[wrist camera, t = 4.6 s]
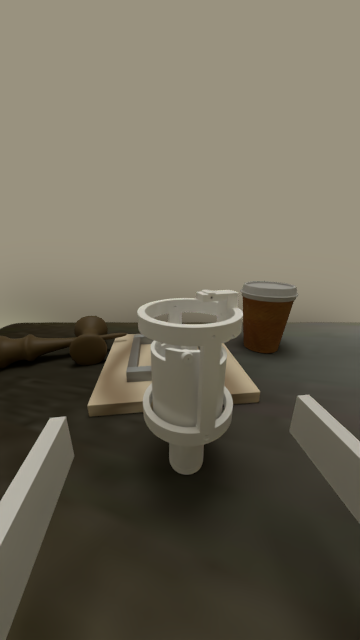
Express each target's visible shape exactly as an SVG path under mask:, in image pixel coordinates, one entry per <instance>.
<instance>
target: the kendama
mask: <svg viewBox="0 0 360 640" xmlns="http://www.w3.org/2000/svg"><path fill="white" fill-rule="evenodd" d="M107 329H108V328H107V325H106V323H105V321H104V320H103V319H102V318H99V317H97V316H86V317H83V318H81V319H80V320H78V321H77V323H76V325H75V335H76V337H77V338H37V337H35V336H34V335H27V336H26V337H24V338H20V339H9V338H7V337H4V336H0V368H6V367H7V366H9V365H10V364H11V363H13V362H16V361H20V360H28V361H34V360H35V359H36V358H37V357H39V356H41V355H43V354H46V353H49V352H53V351H56V350H60V349H63V348H67V347H70V355H71V357H72V359H73V360H74V361H75V362H76V363H77V364H79V365H83V366H86V365H93V364H98V363H99V362H101V361H102V360H104V358H105V356H106V354H107V346H106V343H105V341H104V340H108V339H113V338H119V337H123V336H126V335H127V333H115V334H107Z"/></svg>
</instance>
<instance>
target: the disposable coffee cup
mask: <svg viewBox="0 0 360 640" xmlns="http://www.w3.org/2000/svg"><path fill="white" fill-rule="evenodd" d="M241 293H242V296H243V330H244V331H243V333H244V346H245V347H246V348H248V349H250V350H252V351H255V352H260V353H273V352H276V351H277V350H278V347H279V344H280V341H281V338H282V335H283V332H284V329H285V326H286V323H287V320H288V317H289V314H290V311H291V308H292V304H293V302H294V300H295V299H296V297H297V296H298V293H297V289H296V286H294V285H291V284H286V283H279V282H265V281H264V282H263V281H257V282H256V281H253V282H246V283H244V286H243V289H241Z"/></svg>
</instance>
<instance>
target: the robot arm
mask: <svg viewBox="0 0 360 640" xmlns="http://www.w3.org/2000/svg"><path fill="white" fill-rule="evenodd" d="M289 432H290V433H291V434H292V436H293V437H294V438H295V440H296V441H297V442H298V443H299V445H300V446H301V447H302V449H303V450H304V451H305V453H306V454H307V455H308V457H309V458H310V459H311V461H312V462H313V463H314V464H315V466H316V467H317V468H318V470H319V471H320V472H321V474H322V475H323V476H324V478H325V479H326V480H327V482H328V483H329V484H330V485H331V487H332V488H333V489H334V491H335V492H336V493H337V495H338V496H339V497H340V499H341V500H342V501H343V503H344V504H345V505H346V506H347V508H348V509H349V510H350V512H351V513H352V514H353V516H354V517H355V518H356V520H357V521H358V522H359V524H360V441H359V440H358V439H356V438H355V437H354V436H353V435H352V434H351V433H350V432H349V431H348V430H347V429H346V428H344V427H343V426H342V425H341V424H340V423H339V422H338V421H337V420H336V419H335V418H334V417H333V416H331V415H330V414H329V413H328V412H327V411H326V410H325V409H324V408H323V407H322V406H321V405H319V404H318V403H317V402H316V401H315V400H314V399H313V398H312V397H311V396H310V395H301V396H297V399H296V404H295V408H294V412H293V417H292V421H291V426H290V430H289ZM73 458H74V452H73V447H72V443H71V438H70V433H69V429H68V424H67V419H66V417H57V418H50V419H49V421H48V423H47V424H46V426H45V428H44V429H43V431H42V433H41V434H40V436H39V438H38V439H37V441H36V443H35V444H34V446H33V448H32V449H31V451H30V453H29V454H28V456H27V458H26V459H25V461H24V463H23V464H22V466H21V468H20V469H19V471H18V473H17V474H16V476H15V478H14V479H13V481H12V483H11V484H10V486H9V488H8V489H7V491H6V493H5V495H4V496H3V498H2V500H1V501H0V640H6V638H7V635H8V632H9V630H10V627H11V624H12V622H13V619H14V616H15V613H16V611H17V608H18V605H19V603H20V600H21V597H22V595H23V592H24V589H25V587H26V584H27V581H28V579H29V576H30V573H31V571H32V568H33V565H34V562H35V560H36V557H37V554H38V552H39V549H40V546H41V544H42V541H43V538H44V536H45V533H46V530H47V528H48V525H49V522H50V519H51V517H52V514H53V511H54V509H55V506H56V503H57V501H58V498H59V495H60V493H61V490H62V487H63V485H64V482H65V479H66V476H67V474H68V471H69V468H70V466H71V463H72V460H73Z"/></svg>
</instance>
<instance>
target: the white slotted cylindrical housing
mask: <svg viewBox="0 0 360 640" xmlns="http://www.w3.org/2000/svg"><path fill="white" fill-rule="evenodd" d="M238 297H239V293H238V292H235V291H232V290H220V291H210V290H201V292H196V298H175V299H165V300H159V301H154V302H150V303H147V304H145V305H143V306H141V307H140V308H139V309H138V311H137V314H138V329H139V331H140V332H141V334H143V335H144V336H145V337H147V338H149V339H151V340H154V341H153V342H152V343H151V371H152V383H151V384H150V385H149V386H148V388H147V389H146V391H145V393H144V396H143V413H144V419H145V422H146V424H147V426H148V428H149V429H150V430H151V431H152V432H153V433H154V434H155V435H156V436H157V437H159V438H160V439H162V440H164V441H166V442H169V461H170V464H171V466H172V468H173V469H174V470H175V471H177V472H178V473H180V474H184V475H189V474H193V473H195V472H197V471H198V470H199V469H200V468H201V466H202V464H203V451H204V444H207V443H210V442H212V441H214V440H216V439H218V438H219V437H220V436H222V435H223V434H224V433H225V432H226V430H227V429H228V427H229V425H230V423H231V418H232V409H233V400H232V396H231V394H230V392H229V391H228V389H227V388H226V387H225V386H224V383H225V372H226V361H227V352H226V350H225V348H224V347H223V346H222V343H224V342H227V341H229V340H230V339H234V338H236V337H237V336H238V335H239V334H240V333H241V327H242V318H243V312H242V311H241V310H240V309H239V308H238V307H237V306H238ZM182 312H198V313H206V314H211V315H215V316H217V323H211V324H196V325H191V324H182ZM163 314H168V322H163V321H159V320H156V319H153V318H154V317H156V316H160V315H163ZM161 343H163V344H161ZM197 346H200V350H197ZM152 401H153V411H152V409H151V407H150V405H151V403H152ZM222 405H224V408H225V410H224V412H223V414H222Z"/></svg>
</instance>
